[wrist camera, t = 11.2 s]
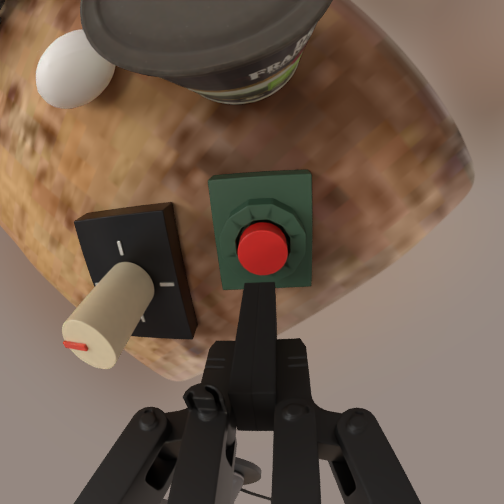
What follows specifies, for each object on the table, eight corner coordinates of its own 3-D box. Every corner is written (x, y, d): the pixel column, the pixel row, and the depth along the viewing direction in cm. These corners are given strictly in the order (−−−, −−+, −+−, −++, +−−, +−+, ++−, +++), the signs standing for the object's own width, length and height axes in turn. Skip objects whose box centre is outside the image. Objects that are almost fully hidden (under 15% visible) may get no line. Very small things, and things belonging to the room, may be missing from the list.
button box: (308, 274, 27) (314, 298, 23) (226, 277, 27) (219, 301, 24) (307, 169, 22) (315, 178, 19) (212, 175, 23) (202, 185, 19)
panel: (197, 324, 30) (192, 340, 28) (122, 321, 31) (113, 335, 29) (172, 201, 24) (162, 210, 22) (86, 213, 25) (72, 222, 23)
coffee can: (322, 31, 17) (380, -55, 4) (260, 126, 21) (248, 125, 8) (216, -15, 15) (168, -109, 2) (155, 76, 19) (43, 46, 7)
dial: (147, 260, 24) (98, 325, 16) (160, 305, 26) (124, 375, 18) (103, 262, 25) (50, 319, 16) (118, 304, 27) (77, 367, 18)
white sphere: (146, 60, 19) (102, 43, 12) (96, 122, 21) (46, 128, 14) (89, 16, 16) (45, -1, 9) (48, 73, 18) (0, 72, 12)
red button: (287, 263, 22) (288, 274, 21) (242, 265, 23) (240, 276, 21) (285, 220, 21) (287, 228, 19) (237, 223, 21) (234, 231, 19)
